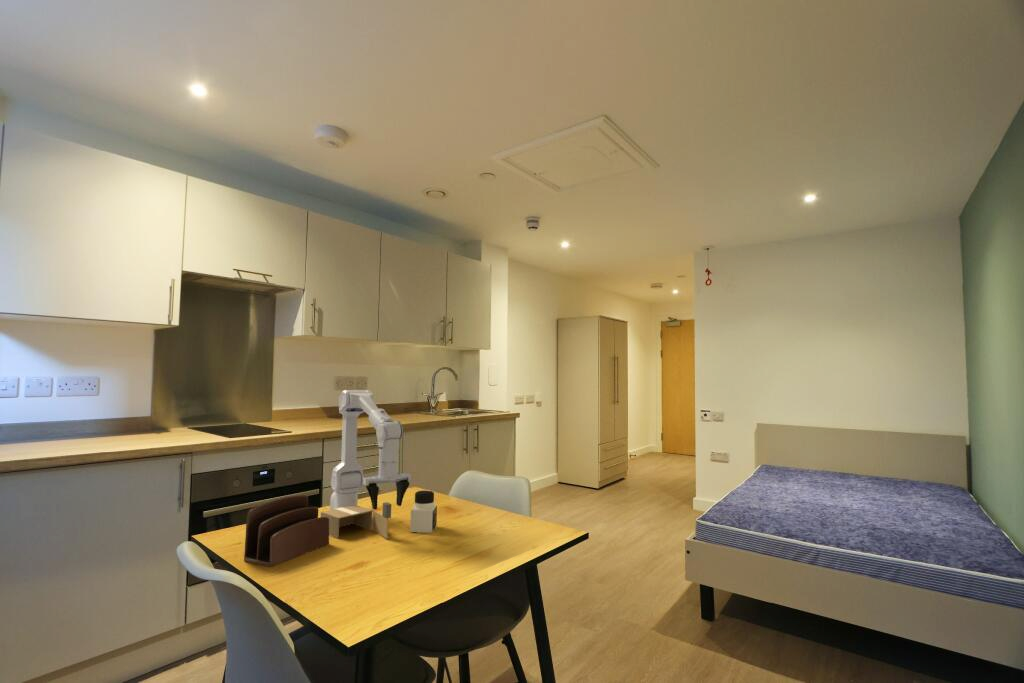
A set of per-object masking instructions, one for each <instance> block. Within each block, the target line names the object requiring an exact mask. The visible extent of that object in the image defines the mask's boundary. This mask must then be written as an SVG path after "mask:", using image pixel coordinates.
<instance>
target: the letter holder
mask: <svg viewBox="0 0 1024 683" xmlns="http://www.w3.org/2000/svg"><path fill="white" fill-rule="evenodd" d="M308 504H309V496H308V495H304V494H299V495H292V496H291V495H290V496H286V497H282V498H278V499H273V500H270V501H268V502H265V503H261V504H260V505H257V506H255V507H252V508H250V509H249V510H248V512H247V514H246V522H245V523H246V524H245V538H244V554H243V561H244V562H246V561H247V563H250V562H251V564H255V565H259V566H264V567H268V568H271V566H272V567H274V566H276V565H280V564H282V563H284V561H285V562H287V561H289V559H290V560H293V559H295V558H297V557H300V556H302V554H303V555H306V554H307V552H308V553H310V552H312V550H313V551H316V550H318V549H321V548H323V547H326V546H328V545H329V544H330V535H329V518H328V517H321V516H320V517H319V507H318V506H309V507H308ZM327 544H328V545H327ZM325 545H326V546H325ZM322 546H323V547H322ZM320 547H321V548H320ZM317 548H318V549H317ZM299 555H300V556H299ZM294 557H295V558H294Z"/></svg>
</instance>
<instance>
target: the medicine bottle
mask: <svg viewBox="0 0 1024 683" xmlns="http://www.w3.org/2000/svg"><path fill="white" fill-rule="evenodd" d="M437 513H438V504H435V492H434V491H432V490H429V489H428V490H427V489H424V490H423V489H422V490H418V491H416V492H415V493H414V505H413V507H412V508H411V509H410V529H409V532H410V533H411V532H417V533H416V534H418V533H419V534H432V532H433V533H434V531H435V529H436V528H437V525H438V524H437V521H438V520H437V518H438V517H437V515H438V514H437Z"/></svg>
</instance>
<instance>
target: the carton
mask: <svg viewBox="0 0 1024 683" xmlns="http://www.w3.org/2000/svg"><path fill="white" fill-rule="evenodd" d="M373 511H374V509H373V510H372V509H370V508H366V507H363V506H361V505H358V504H357V505H352V506H347V507H341V508H336V509H333V510H330V509H329V510H325V511H321V512H320V517H328V518H329V536H330V535H331V536H330V537H332V536H333V537H332V538H335V537H336V538H335V539H337V538H338V539H340V536H339V535H340V534H339V533H340V528H342V527H341V526H343V527H347V526H346V525H348V526H351V525H350V524H352V525H355V524H356V525H355V526H358V525H359V526H358V527H361V528H364V529H366V530H370V531H372V530H373Z"/></svg>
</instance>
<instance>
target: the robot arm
mask: <svg viewBox="0 0 1024 683" xmlns="http://www.w3.org/2000/svg"><path fill="white" fill-rule="evenodd" d="M338 410H339V411H338V413H339V414H341V415H342V424H341V425H342V426H341V454H340V455H341V458H340V459H341V460H340V463H338V464H337V465H336V466H335V467H333V469H332V473H331V474H332V475H331V478H330V487H331V489H332V490H333V493H332V494H331V496H330V501H329V502H330V504H329V510H333V509H336V508H341V507H347V506H352V505H357V506H358V504H359V503H358V500H359V498H358V496H359V491H361V488H363V486H365V488H366V490H367V492H368V495H369V497H370V502H371V507H372V508H371V509H373V511H374V510H375V511H376V510H377V509H378V496H379V491H380V487H379V486H378V485H379V484H388V483H395V486H396V506H398V507H401V506H402V503H403V499H404V497H405V494H406V492H407V490H408V488H409V486H410V482H411V481H412V474H411V473H409V472H408V473H399V472H398V471H399V446H400V440H401V439H402V437H403V434H404V428H403V427H404V426H403V425H402V423H401V421H400V420H393V419H392V417H391V416H390V415H389V414H388V413H387V412H386V410H385V409H384V408H379V407H378V406H377V404H375V402H374V394H373V392H372V391H371V390H370V389H366V390H363V389H362V390H356V389H355V390H348V389H344V390H342V392H341V393H340V395H339V398H338ZM363 413H365V414H367V415H368V421H369V423H370V424H371V425H372V427H373V428H374V429H375V431H376V432H375V435H376V439H377V447H379V450H378V451H379V453H378V472H377V473H378V474H377V475H373V476H370V477H364V476H365V475H364V471H363V470H364V468H363V466H362V465H361V464H360V463H358V462H357V450H358V448H357V446H358V445H357V444H358V417H359V416H360V415H361V414H363Z"/></svg>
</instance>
